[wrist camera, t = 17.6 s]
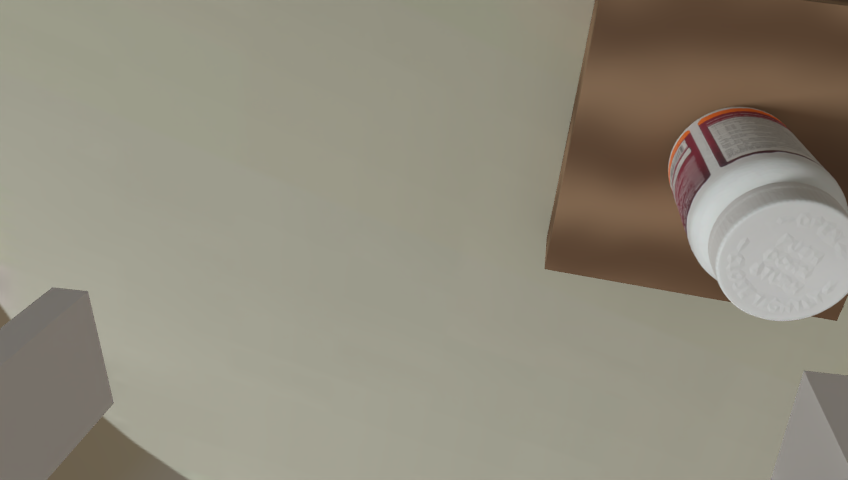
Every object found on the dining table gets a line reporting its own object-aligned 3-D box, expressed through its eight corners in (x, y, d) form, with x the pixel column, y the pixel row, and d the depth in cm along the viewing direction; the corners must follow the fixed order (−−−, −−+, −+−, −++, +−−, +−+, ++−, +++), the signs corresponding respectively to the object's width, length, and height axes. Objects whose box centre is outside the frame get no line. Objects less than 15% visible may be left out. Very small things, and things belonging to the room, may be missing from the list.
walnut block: (602, -34, 38) (605, -26, 34) (928, 8, 36) (967, 21, 32) (546, 238, 45) (544, 269, 41) (814, 284, 43) (836, 320, 39)
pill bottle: (712, 238, 39) (761, 361, 29) (641, 154, 37) (667, 252, 27) (820, 169, 36) (916, 277, 26) (748, 76, 35) (820, 153, 25)
